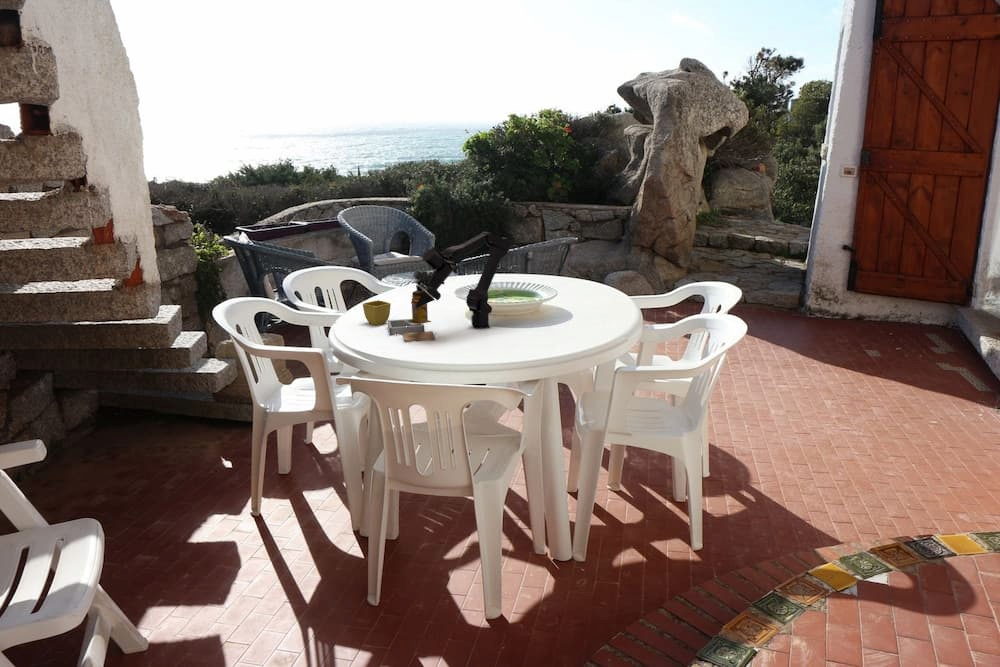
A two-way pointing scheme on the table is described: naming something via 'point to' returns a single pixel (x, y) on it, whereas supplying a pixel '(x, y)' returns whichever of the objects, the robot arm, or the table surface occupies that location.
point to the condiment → (418, 310)
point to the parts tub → (403, 327)
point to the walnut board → (418, 336)
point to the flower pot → (377, 311)
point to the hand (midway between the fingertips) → (413, 305)
